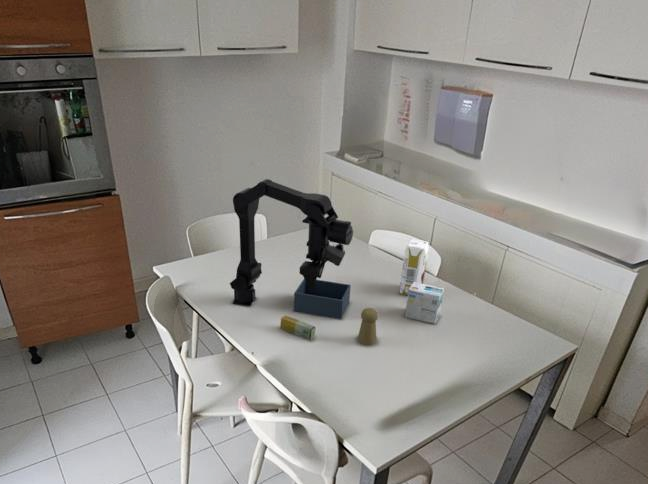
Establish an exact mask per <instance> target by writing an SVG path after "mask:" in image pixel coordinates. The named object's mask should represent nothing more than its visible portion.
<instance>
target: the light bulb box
mask: <svg viewBox="0 0 648 484" xmlns="http://www.w3.org/2000/svg"><path fill="white" fill-rule="evenodd" d="M444 291H445V287H441V286H435V285H431V284H426V283H423V284H421V283H416V282H414V283H413V284H412V285H411V287H410V288H409V291H408V295H407V299H406V306H405V313H404V317H405V318H409V319H413V320H417V321H421V322H426V323H430V324H433V325H435V324H436V322H437V321H438V319H439V317H440V315H441V308H442V303H443V298H444Z"/></svg>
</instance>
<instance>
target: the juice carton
mask: <svg viewBox="0 0 648 484" xmlns="http://www.w3.org/2000/svg"><path fill="white" fill-rule="evenodd" d="M429 249H430V248H429V241H426V240H423V239H422V240H421V239H414V238H411V239H410V240H409V243H407V245H406V247H405V250H404V255H403V260H402V261H403V262H402V269H401V274H400V276H401V277H400V282H399V291H400V294H401V295H406V296H408V291H409V288H410V287H411V285H412V284H413V283H414V282H416V283H421V284H424V280H425V274H426V268H427V263H428V256H429V252H430V251H429Z"/></svg>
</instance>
